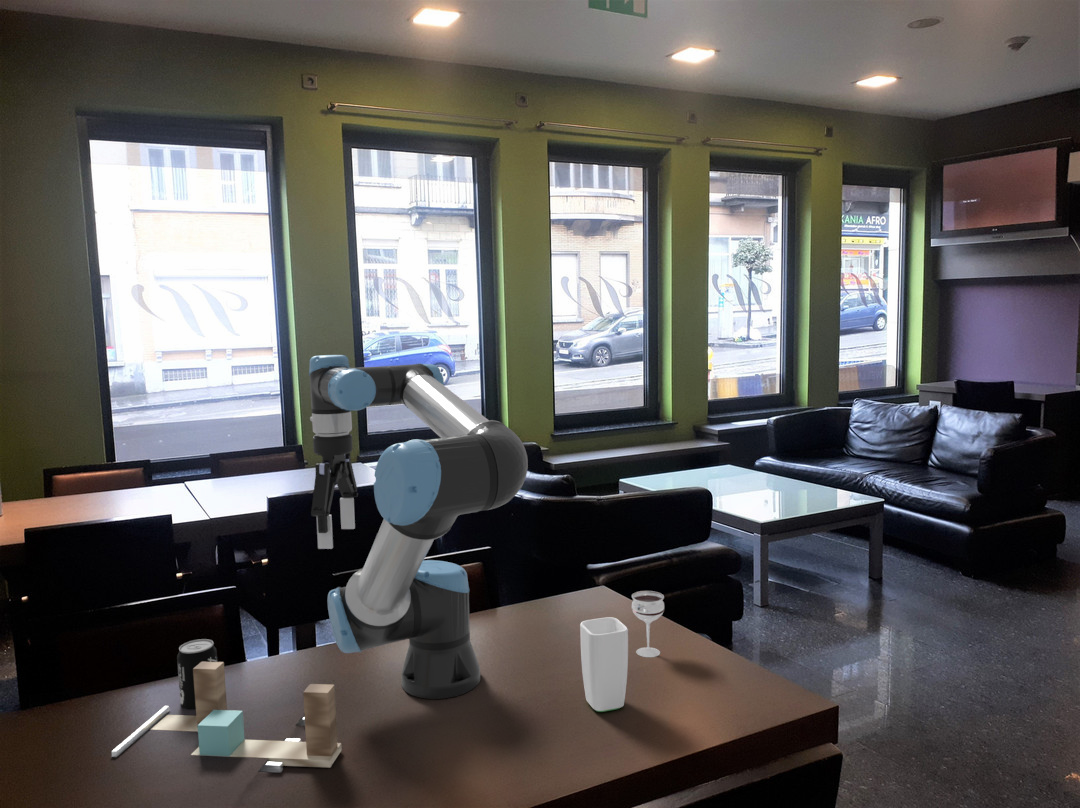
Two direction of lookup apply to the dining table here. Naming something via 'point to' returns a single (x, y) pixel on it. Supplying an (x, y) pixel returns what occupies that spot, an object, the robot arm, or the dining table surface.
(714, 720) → the dining table surface
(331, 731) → the strip long
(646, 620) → the wineglass
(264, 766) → the lane rails
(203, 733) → the cube
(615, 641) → the cup
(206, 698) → the strip short
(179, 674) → the beverage can
